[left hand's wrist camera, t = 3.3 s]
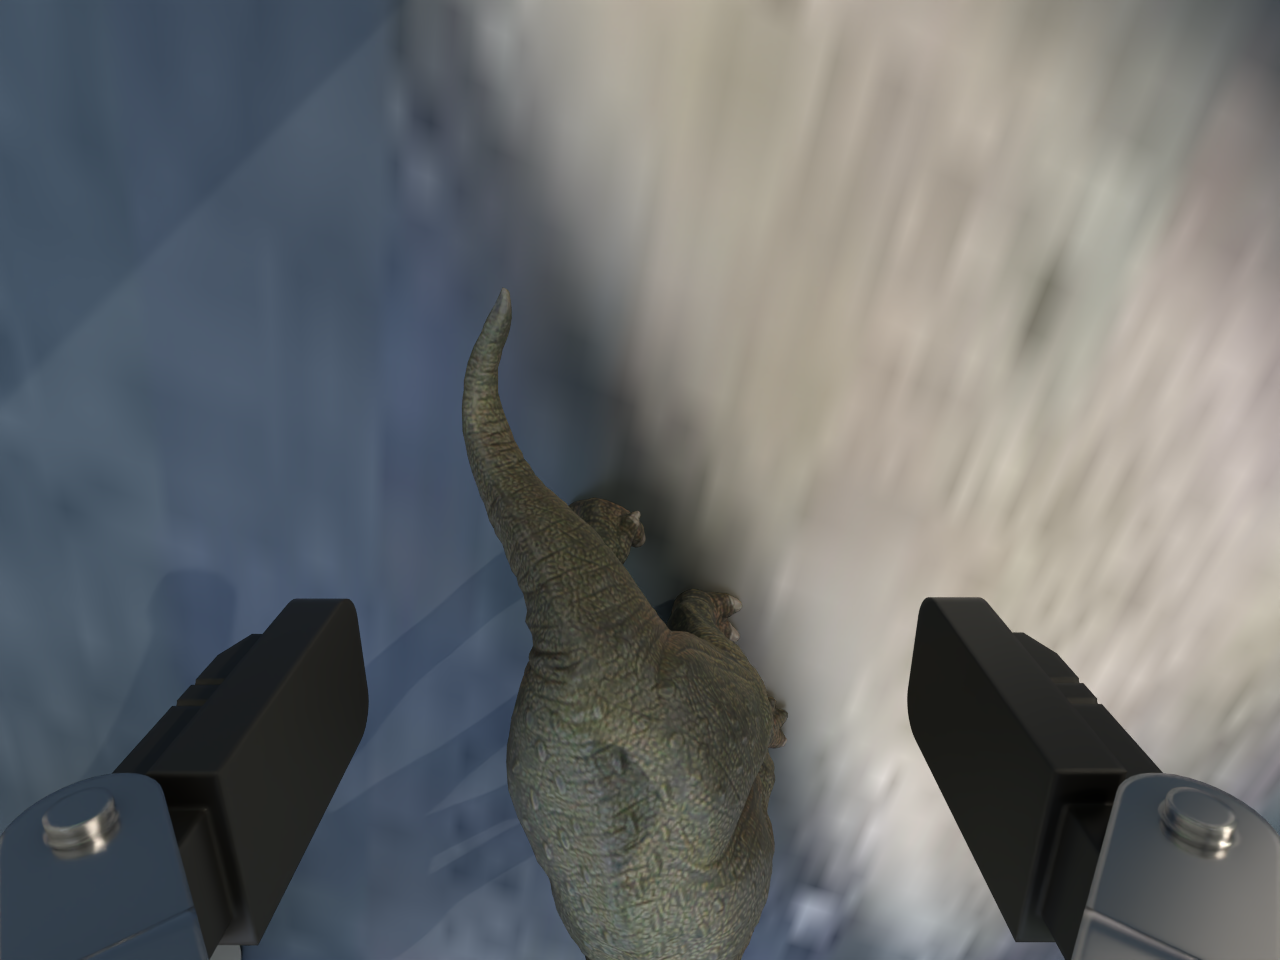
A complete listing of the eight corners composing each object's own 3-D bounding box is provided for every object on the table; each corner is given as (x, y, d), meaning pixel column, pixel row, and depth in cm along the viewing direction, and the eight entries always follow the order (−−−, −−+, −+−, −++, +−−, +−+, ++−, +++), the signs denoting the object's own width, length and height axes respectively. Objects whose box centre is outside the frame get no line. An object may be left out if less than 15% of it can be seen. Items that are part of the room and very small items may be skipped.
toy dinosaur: (483, 267, 20) (299, 373, 9) (821, 265, 20) (1016, 372, 9) (531, 909, 28) (460, 1354, 17) (771, 910, 28) (847, 1358, 17)
